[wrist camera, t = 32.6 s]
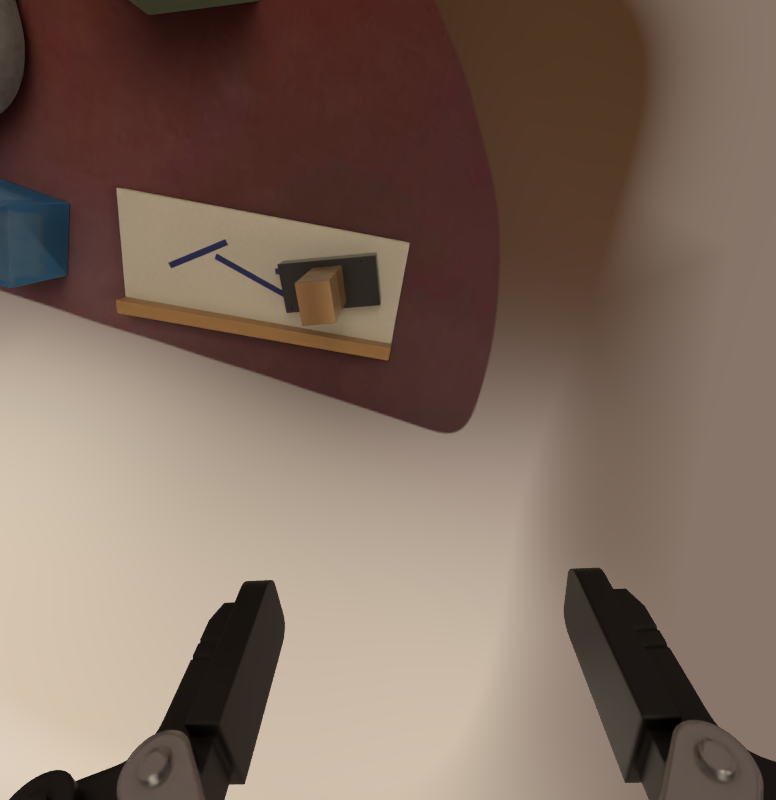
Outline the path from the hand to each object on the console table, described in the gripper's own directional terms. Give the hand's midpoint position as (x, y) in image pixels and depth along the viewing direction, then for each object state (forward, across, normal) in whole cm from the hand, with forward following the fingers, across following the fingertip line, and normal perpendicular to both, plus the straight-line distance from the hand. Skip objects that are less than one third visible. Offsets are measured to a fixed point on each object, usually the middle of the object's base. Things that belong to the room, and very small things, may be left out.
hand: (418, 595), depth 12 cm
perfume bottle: (+30, +31, -10) cm, 45 cm away
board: (+30, +12, -5) cm, 33 cm away
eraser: (+29, +6, -4) cm, 30 cm away
